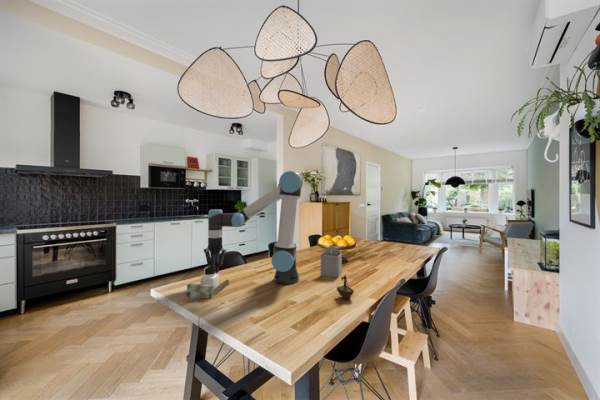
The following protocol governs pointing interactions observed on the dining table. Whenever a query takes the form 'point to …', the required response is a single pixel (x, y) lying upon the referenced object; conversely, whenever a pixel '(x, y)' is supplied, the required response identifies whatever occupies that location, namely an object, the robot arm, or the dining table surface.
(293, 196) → the robot arm
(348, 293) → the figurine
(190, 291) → the guide channel
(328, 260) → the grey box
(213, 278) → the medicine bottle
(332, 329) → the dining table surface
